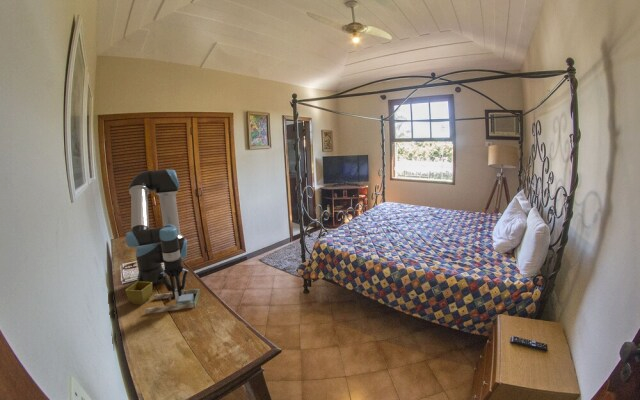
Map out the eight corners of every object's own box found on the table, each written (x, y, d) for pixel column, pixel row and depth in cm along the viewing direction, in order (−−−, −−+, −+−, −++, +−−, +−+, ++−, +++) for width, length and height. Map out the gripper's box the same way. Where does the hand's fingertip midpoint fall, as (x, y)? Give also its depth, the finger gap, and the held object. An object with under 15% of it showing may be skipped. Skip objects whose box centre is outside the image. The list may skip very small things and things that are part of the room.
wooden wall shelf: (146, 313, 137) (145, 308, 136) (155, 299, 149) (154, 294, 149) (195, 307, 142) (194, 302, 141) (199, 293, 154) (199, 288, 153)
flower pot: (155, 297, 151) (152, 281, 149) (143, 306, 143) (141, 290, 141) (139, 296, 152) (137, 281, 150) (127, 306, 144) (124, 290, 142)
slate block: (178, 308, 141) (177, 301, 140) (181, 302, 147) (180, 295, 146) (191, 307, 142) (190, 299, 141) (193, 300, 148) (193, 293, 147)
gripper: (154, 263, 134) (162, 308, 139) (184, 260, 137) (190, 304, 142) (159, 256, 141) (166, 299, 146) (188, 254, 144) (193, 296, 149)
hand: (178, 301), depth 144 cm, fingers closed
